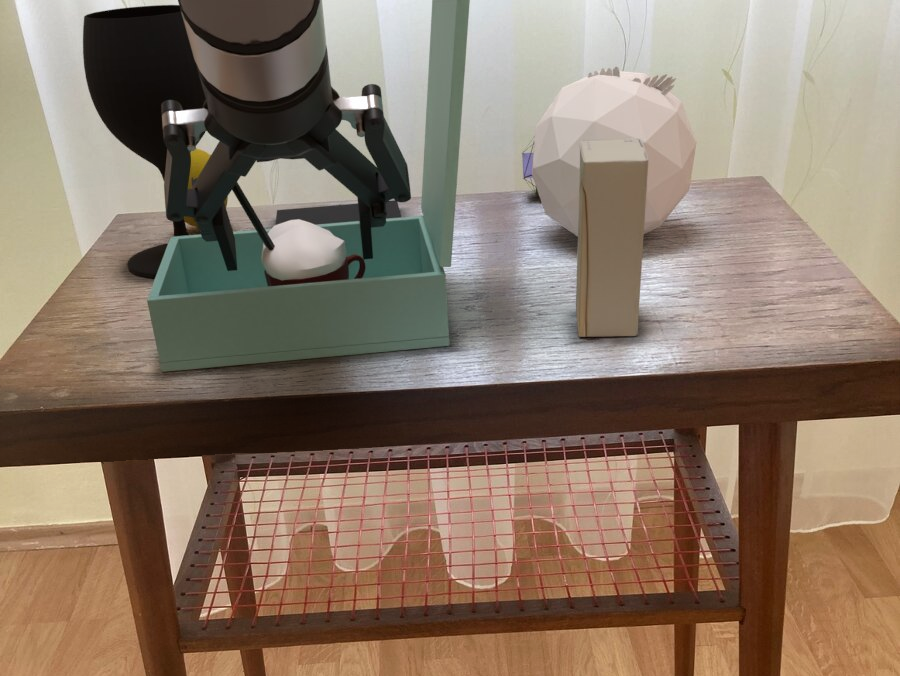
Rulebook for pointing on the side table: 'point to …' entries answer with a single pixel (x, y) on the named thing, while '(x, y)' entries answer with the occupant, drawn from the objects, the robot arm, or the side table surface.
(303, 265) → the cocoa
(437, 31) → the lid
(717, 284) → the side table surface
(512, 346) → the side table surface
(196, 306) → the teal open box
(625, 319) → the cosmetic box
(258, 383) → the side table surface
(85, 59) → the wine glass
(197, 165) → the lemon
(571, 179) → the geodesic sphere
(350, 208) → the mat
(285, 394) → the side table surface
